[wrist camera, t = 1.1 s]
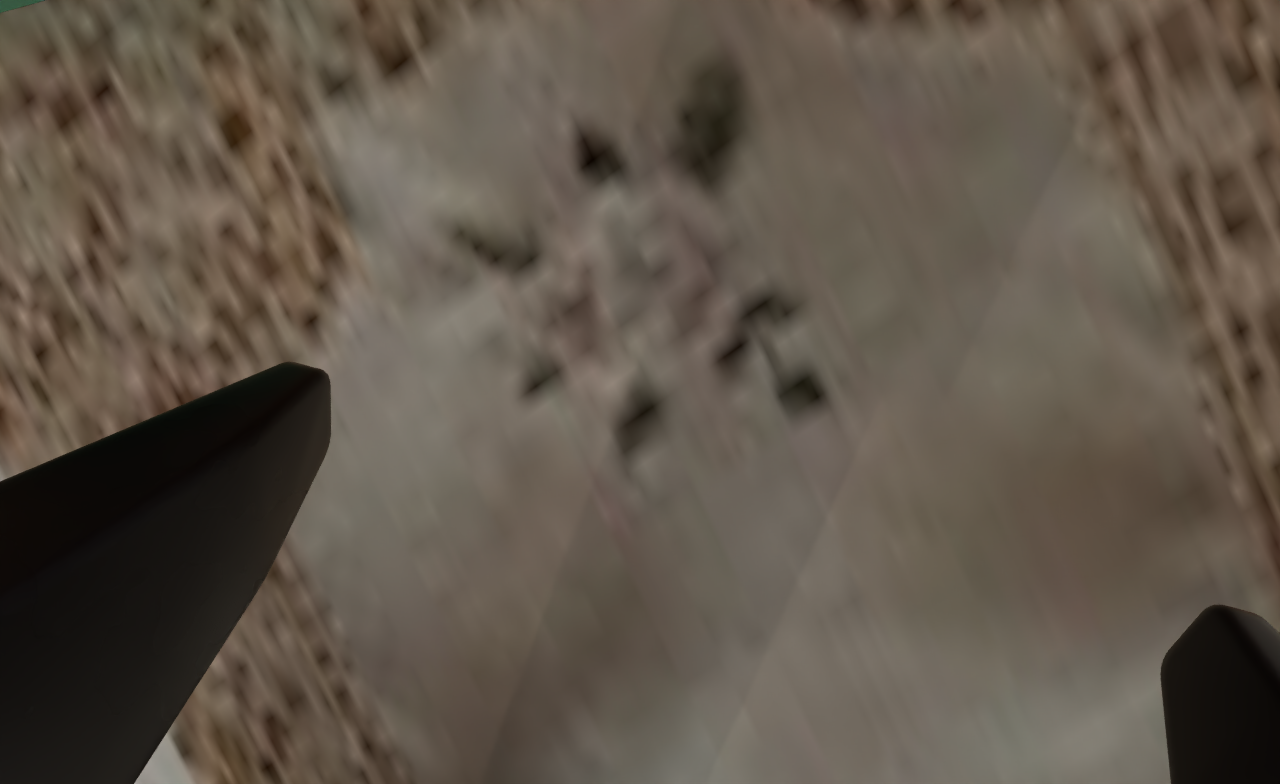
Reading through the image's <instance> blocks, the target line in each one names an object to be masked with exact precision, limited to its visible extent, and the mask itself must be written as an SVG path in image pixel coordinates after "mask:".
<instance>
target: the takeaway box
mask: <svg viewBox="0 0 1280 784" xmlns="http://www.w3.org/2000/svg"><path fill="white" fill-rule="evenodd" d="M41 1H45V0H0V13H1V12H5V11H8V10H12V9H16V8H19V7H23V6H27V5H30V4H34V3H38V2H41Z"/></svg>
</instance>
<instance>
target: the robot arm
mask: <svg viewBox="0 0 1280 784" xmlns="http://www.w3.org/2000/svg"><path fill="white" fill-rule="evenodd" d="M330 437H331V385H330V379H329V376H328V374H327V373H326V372H325V371H324V370H322V369H318V368H314V367H310V366H307V365H303V364H299V363H295V362H284V363H281V364H278V365H276V366H274V367H271V368H269V369H267V370H264V371H262V372H259V373H257V374H255V375H252V376H250V377H248V378H245V379H243V380H240V381H238V382H236V383H233V384H231V385H229V386H226V387H224V388H221V389H219V390H217V391H214V392H212V393H210V394H207V395H205V396H202V397H200V398H198V399H195V400H193V401H190V402H188V403H186V404H183V405H181V406H179V407H176V408H174V409H171V410H169V411H167V412H164V413H162V414H160V415H157V416H155V417H152V418H150V419H148V420H145V421H143V422H141V423H138V424H136V425H133V426H131V427H129V428H126V429H124V430H122V431H119V432H117V433H114V434H112V435H110V436H107V437H105V438H103V439H100V440H98V441H95V442H93V443H91V444H88V445H86V446H84V447H81V448H79V449H76V450H74V451H72V452H69V453H67V454H65V455H62V456H60V457H57V458H55V459H53V460H50V461H48V462H45V463H43V464H41V465H38V466H36V467H34V468H31V469H29V470H26V471H24V472H22V473H19V474H17V475H15V476H12V477H10V478H7V479H5V480H3V481H0V784H134V783H135V781H136V780H137V778H138V777H139V775H140V773H141V772H142V770H143V769H144V767H145V766H146V764H147V763H148V761H149V759H150V758H151V756H152V755H153V753H154V752H155V750H156V749H157V747H158V745H159V744H160V742H161V741H162V739H163V738H164V736H165V735H166V733H167V731H168V730H169V728H170V727H171V725H172V724H173V722H174V721H175V719H176V717H177V716H178V714H179V713H180V711H181V710H182V708H183V707H184V705H185V703H186V702H187V700H188V699H189V697H190V696H191V694H192V693H193V691H194V689H195V688H196V686H197V685H198V683H199V682H200V680H201V679H202V677H203V675H204V674H205V672H206V671H207V669H208V668H209V666H210V665H211V663H212V661H213V660H214V658H215V657H216V655H217V654H218V652H219V651H220V649H221V648H222V646H223V644H224V643H225V641H226V640H227V638H228V637H229V635H230V634H231V632H232V630H233V629H234V627H235V626H236V624H237V623H238V621H239V620H240V618H241V616H242V615H243V613H244V612H245V610H246V609H247V607H248V606H249V604H250V602H251V601H252V599H253V598H254V596H255V594H256V593H257V591H258V589H259V588H260V586H261V584H262V583H263V581H264V579H265V578H266V576H267V574H268V572H269V570H270V568H271V566H272V564H273V562H274V560H275V558H276V556H277V554H278V552H279V550H280V548H281V546H282V544H283V542H284V540H285V538H286V536H287V534H288V532H289V530H290V527H291V525H292V523H293V521H294V519H295V517H296V515H297V513H298V511H299V509H300V507H301V505H302V503H303V501H304V499H305V497H306V495H307V493H308V491H309V488H310V486H311V484H312V482H313V480H314V478H315V476H316V474H317V472H318V470H319V468H320V466H321V464H322V462H323V460H324V458H325V455H326V453H327V450H328V447H329V443H330ZM1161 687H1162V697H1163V707H1164V717H1165V727H1166V738H1167V748H1168V758H1169V768H1170V779H1171V784H1280V633H1279V632H1278V631H1277V630H1275V629H1274V628H1273V627H1272V626H1271V625H1270V624H1269V623H1268V622H1267V621H1266V620H1265V619H1263V618H1262V617H1261V616H1259V615H1257V614H1255V613H1252V612H1248V611H1244V610H1241V609H1237V608H1233V607H1229V606H1225V605H1212V606H1210V607H1208V608H1206V609H1205V610H1203V611H1202V612H1201V613H1200V615H1199V616H1198V617H1197V618H1196V619H1195V620H1194V622H1193V623H1192V624H1191V625H1190V626H1189V627H1188V628H1187V630H1186V631H1185V632H1184V633H1183V634H1182V635H1181V636H1180V638H1179V639H1178V640H1177V641H1176V642H1175V643H1174V644H1173V646H1172V647H1171V648H1170V649H1169V650H1168V652H1167V653H1166V655H1165V657H1164V659H1163V663H1162V666H1161Z"/></svg>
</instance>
